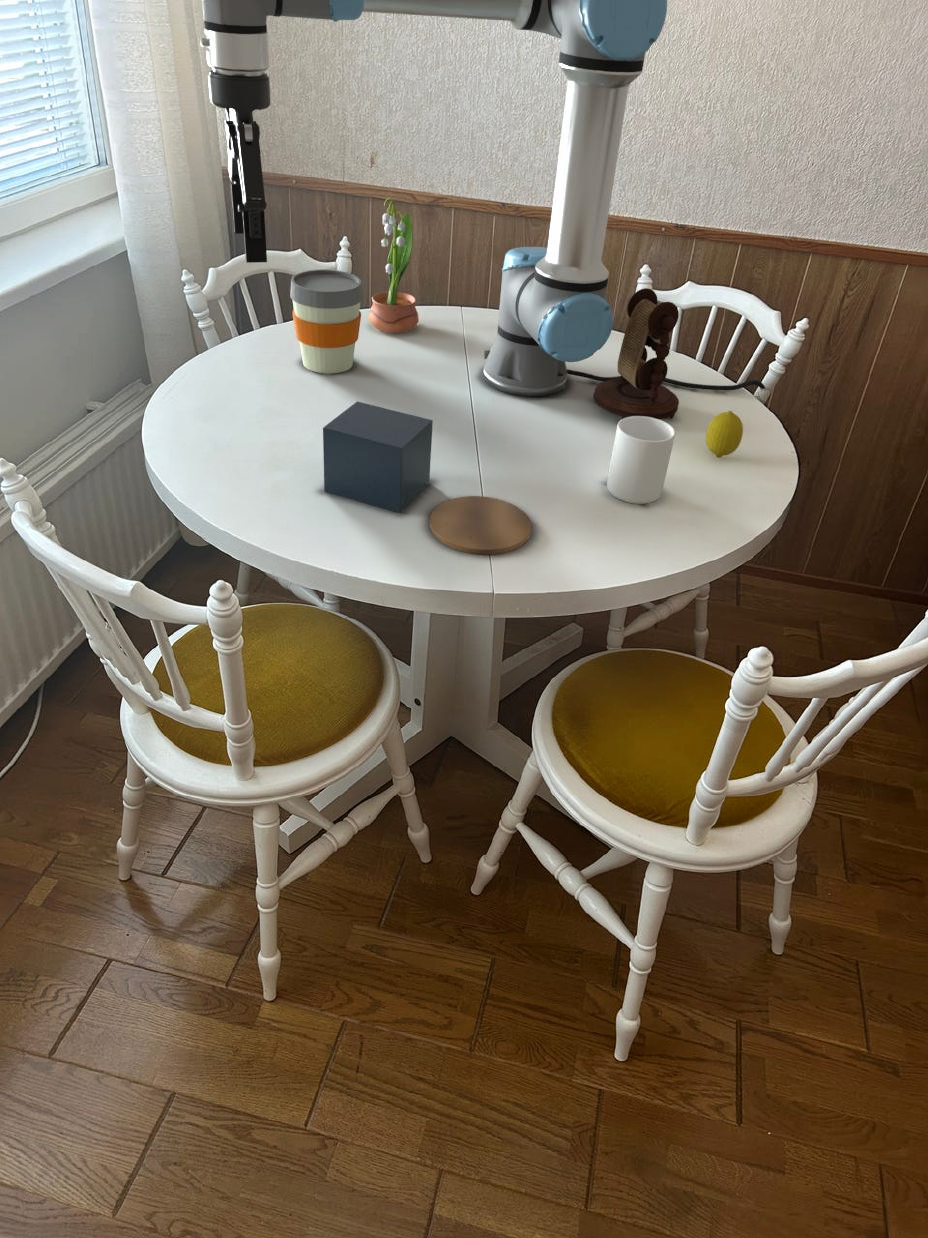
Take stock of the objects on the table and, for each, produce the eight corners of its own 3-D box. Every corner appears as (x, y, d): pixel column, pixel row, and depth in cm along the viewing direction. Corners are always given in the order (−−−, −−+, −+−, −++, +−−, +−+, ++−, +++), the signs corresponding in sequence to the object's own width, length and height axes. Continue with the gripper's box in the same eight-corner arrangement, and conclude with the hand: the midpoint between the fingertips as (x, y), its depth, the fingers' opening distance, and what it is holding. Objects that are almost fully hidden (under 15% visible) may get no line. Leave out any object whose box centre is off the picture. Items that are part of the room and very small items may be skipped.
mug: (588, 468, 143) (599, 406, 137) (637, 464, 145) (649, 403, 139) (619, 507, 134) (631, 443, 128) (670, 503, 136) (685, 439, 130)
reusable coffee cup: (278, 364, 166) (274, 280, 157) (322, 345, 175) (320, 264, 166) (333, 383, 161) (332, 297, 152) (376, 362, 170) (377, 280, 161)
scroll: (577, 396, 165) (594, 282, 153) (648, 388, 170) (670, 278, 158) (617, 432, 154) (640, 313, 142) (692, 423, 159) (720, 307, 147)
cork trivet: (510, 496, 134) (511, 491, 134) (545, 548, 124) (546, 543, 123) (418, 505, 130) (418, 500, 130) (446, 559, 120) (446, 554, 119)
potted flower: (409, 342, 179) (413, 205, 164) (359, 335, 181) (359, 198, 165) (423, 322, 189) (429, 191, 174) (376, 315, 190) (377, 184, 175)
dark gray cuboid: (323, 491, 132) (322, 427, 125) (356, 462, 139) (357, 400, 133) (399, 513, 128) (402, 448, 122) (429, 482, 136) (432, 419, 130)
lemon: (737, 453, 151) (749, 408, 146) (733, 468, 147) (746, 421, 142) (703, 446, 152) (714, 401, 147) (698, 460, 148) (710, 414, 143)
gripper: (199, 55, 124) (213, 222, 136) (217, 85, 105) (232, 275, 118) (256, 57, 126) (265, 221, 139) (283, 88, 107) (291, 274, 120)
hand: (250, 246), depth 128 cm, fingers open, 13 cm apart
